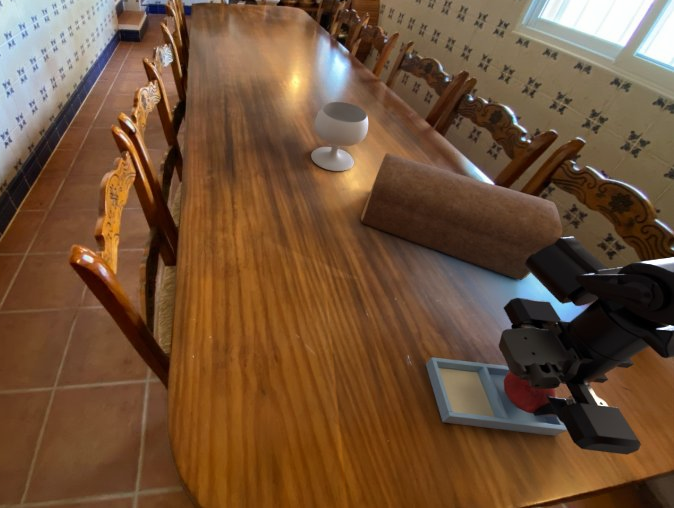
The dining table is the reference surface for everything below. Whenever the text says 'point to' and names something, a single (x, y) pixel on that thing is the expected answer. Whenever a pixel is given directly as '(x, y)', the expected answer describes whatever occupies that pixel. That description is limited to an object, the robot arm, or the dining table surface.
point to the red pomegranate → (525, 393)
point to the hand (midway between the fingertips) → (525, 391)
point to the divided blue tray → (482, 398)
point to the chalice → (339, 134)
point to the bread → (461, 215)
